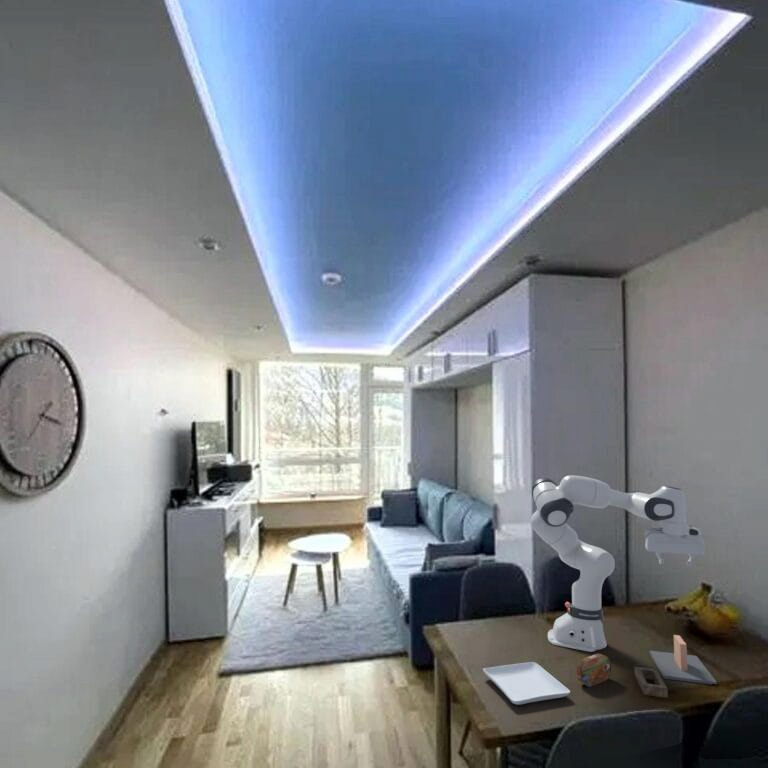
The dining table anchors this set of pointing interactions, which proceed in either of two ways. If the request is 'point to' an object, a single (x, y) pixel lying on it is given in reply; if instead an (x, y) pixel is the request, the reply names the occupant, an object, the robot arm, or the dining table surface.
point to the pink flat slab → (680, 652)
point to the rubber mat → (673, 671)
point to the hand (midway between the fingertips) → (675, 564)
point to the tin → (594, 669)
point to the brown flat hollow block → (651, 689)
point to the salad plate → (526, 682)
